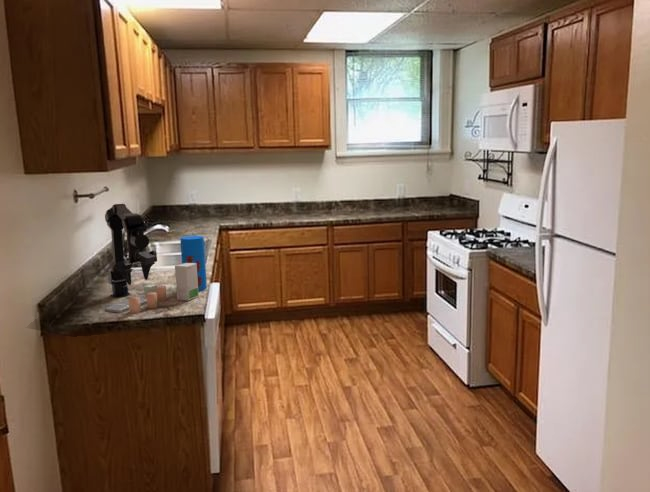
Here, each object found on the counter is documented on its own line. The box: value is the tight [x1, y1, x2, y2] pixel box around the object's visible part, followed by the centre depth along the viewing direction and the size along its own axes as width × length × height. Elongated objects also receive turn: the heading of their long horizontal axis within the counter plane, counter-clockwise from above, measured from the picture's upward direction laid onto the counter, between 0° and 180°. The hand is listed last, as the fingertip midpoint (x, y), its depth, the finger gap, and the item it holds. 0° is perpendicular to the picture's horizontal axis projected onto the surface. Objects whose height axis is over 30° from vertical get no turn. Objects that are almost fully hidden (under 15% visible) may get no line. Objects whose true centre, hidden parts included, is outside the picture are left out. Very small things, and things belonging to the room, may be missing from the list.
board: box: [104, 296, 147, 314], centre depth 234 cm, size 9×19×1 cm, turn 154°
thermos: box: [179, 235, 208, 292], centre depth 258 cm, size 11×11×25 cm
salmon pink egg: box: [145, 292, 159, 310], centre depth 231 cm, size 4×4×6 cm
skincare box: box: [174, 263, 200, 301], centre depth 243 cm, size 8×7×16 cm
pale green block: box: [143, 284, 158, 298], centre depth 248 cm, size 4×4×5 cm
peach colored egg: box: [127, 296, 142, 314], centre depth 225 cm, size 4×4×6 cm
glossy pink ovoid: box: [156, 285, 168, 302], centre depth 241 cm, size 4×4×6 cm
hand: (138, 282), depth 226 cm, fingers open, 9 cm apart
